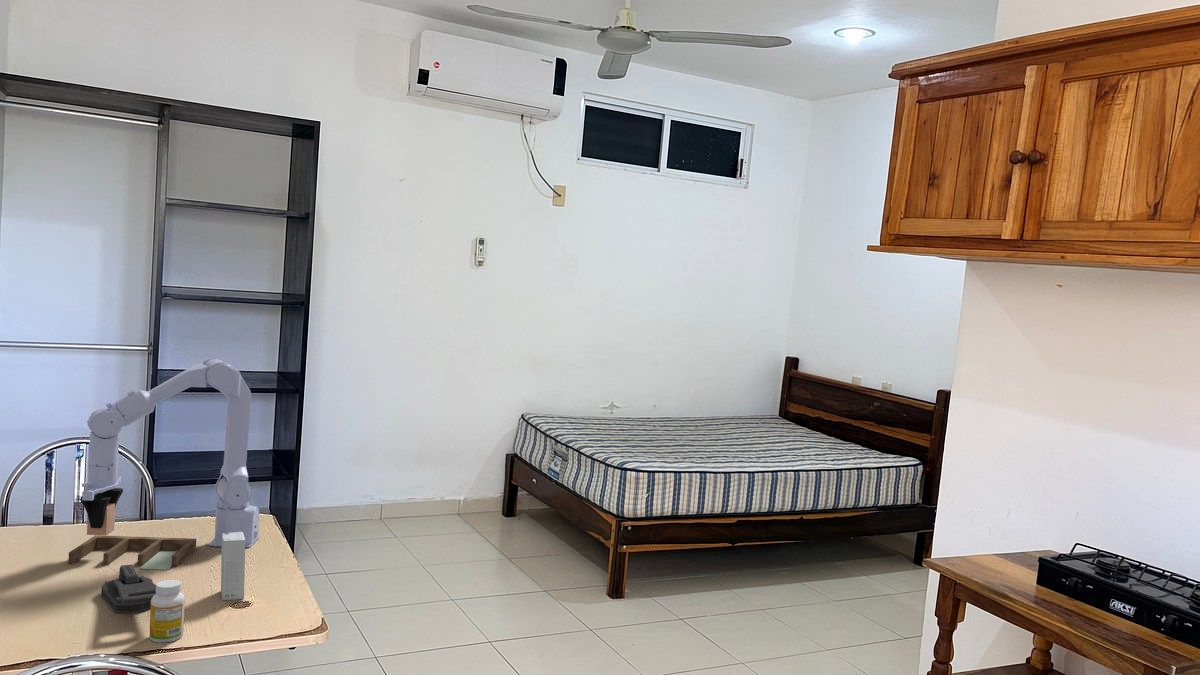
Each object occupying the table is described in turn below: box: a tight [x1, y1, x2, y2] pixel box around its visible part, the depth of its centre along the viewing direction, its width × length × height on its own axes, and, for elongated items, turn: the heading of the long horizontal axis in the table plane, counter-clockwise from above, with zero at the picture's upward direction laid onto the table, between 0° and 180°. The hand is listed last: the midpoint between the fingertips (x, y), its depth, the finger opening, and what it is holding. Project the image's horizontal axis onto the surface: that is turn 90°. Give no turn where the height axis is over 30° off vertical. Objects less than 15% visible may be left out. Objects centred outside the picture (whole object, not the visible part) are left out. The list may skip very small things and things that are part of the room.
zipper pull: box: [100, 564, 157, 615], centre depth 166 cm, size 9×7×25 cm
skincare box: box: [220, 532, 246, 601], centre depth 176 cm, size 6×4×12 cm
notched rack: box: [68, 535, 197, 571], centre depth 193 cm, size 22×14×2 cm, turn 97°
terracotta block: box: [86, 503, 116, 536], centre depth 192 cm, size 4×4×6 cm
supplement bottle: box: [149, 579, 186, 643], centre depth 154 cm, size 5×5×10 cm
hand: (101, 524), depth 192 cm, fingers closed on terracotta block, 4 cm apart
